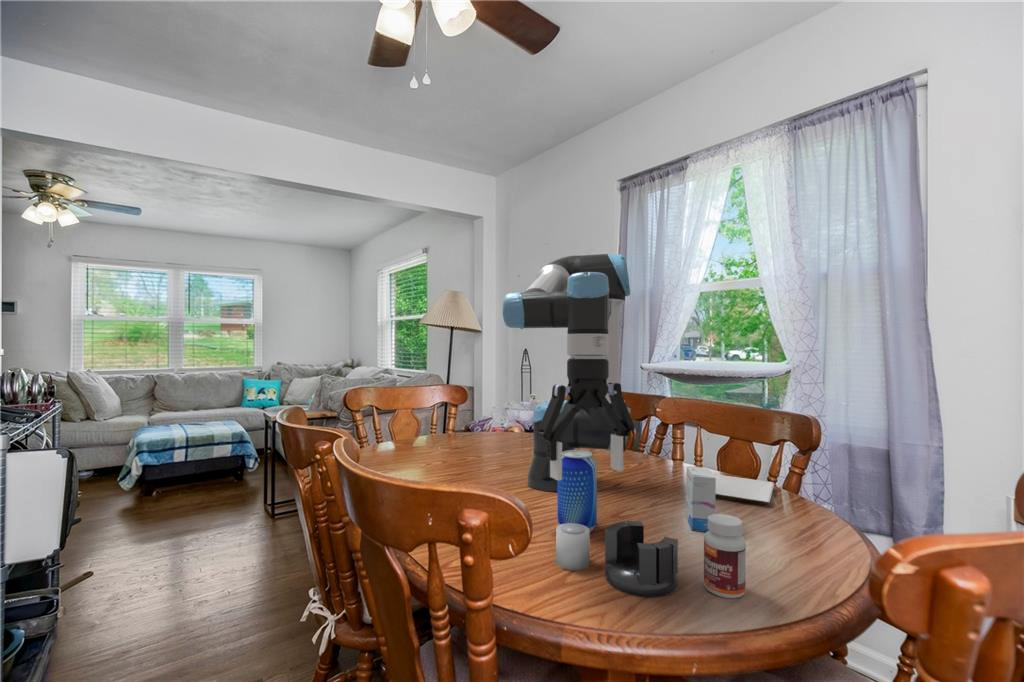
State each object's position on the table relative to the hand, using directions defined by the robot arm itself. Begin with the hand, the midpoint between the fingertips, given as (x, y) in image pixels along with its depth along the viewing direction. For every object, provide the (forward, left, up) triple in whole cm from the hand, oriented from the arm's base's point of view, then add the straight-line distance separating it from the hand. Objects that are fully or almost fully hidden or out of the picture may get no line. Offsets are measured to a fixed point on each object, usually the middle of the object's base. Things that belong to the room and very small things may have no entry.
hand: (587, 474), depth 86 cm
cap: (-1, -3, -16) cm, 16 cm away
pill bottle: (+18, +14, -16) cm, 28 cm away
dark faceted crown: (+9, +4, -16) cm, 19 cm away
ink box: (-4, +33, -16) cm, 37 cm away
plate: (-17, +59, -16) cm, 63 cm away
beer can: (-14, +7, -16) cm, 23 cm away
